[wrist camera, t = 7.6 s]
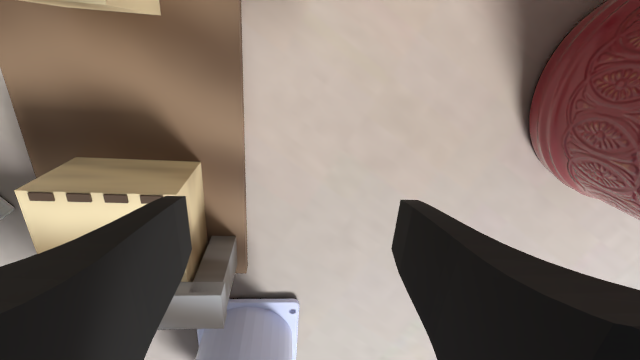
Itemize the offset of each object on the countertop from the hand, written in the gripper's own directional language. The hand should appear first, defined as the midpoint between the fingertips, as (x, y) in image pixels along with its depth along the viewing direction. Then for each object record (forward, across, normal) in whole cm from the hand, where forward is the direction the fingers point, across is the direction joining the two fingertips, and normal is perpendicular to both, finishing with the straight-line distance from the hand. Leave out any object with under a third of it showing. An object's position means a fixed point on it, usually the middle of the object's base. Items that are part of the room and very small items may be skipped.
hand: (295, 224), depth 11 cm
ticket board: (+10, +9, +1) cm, 13 cm away
